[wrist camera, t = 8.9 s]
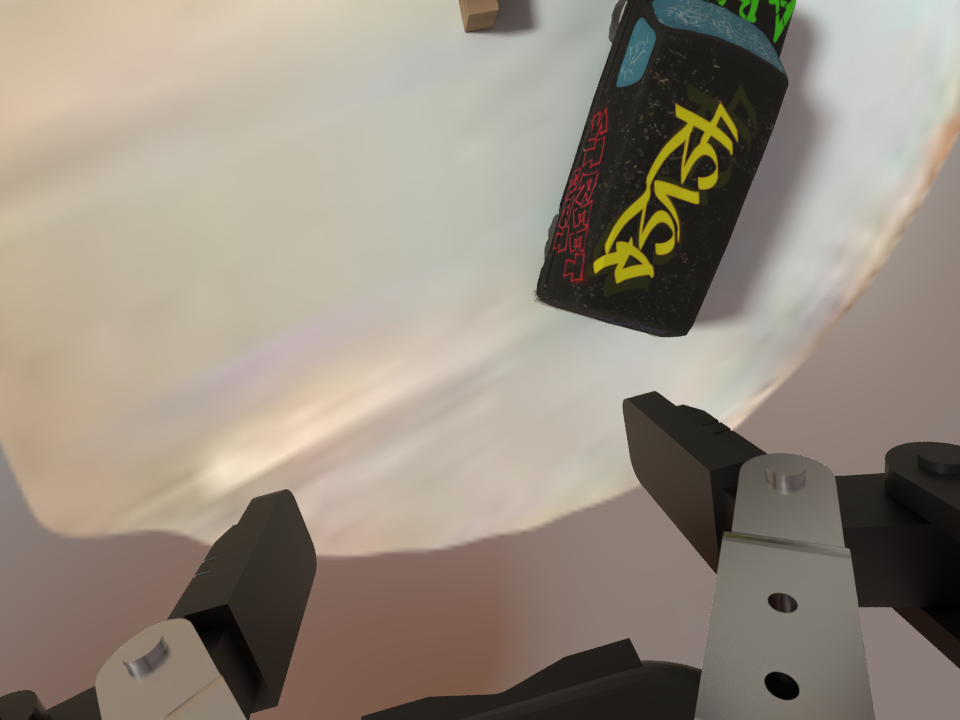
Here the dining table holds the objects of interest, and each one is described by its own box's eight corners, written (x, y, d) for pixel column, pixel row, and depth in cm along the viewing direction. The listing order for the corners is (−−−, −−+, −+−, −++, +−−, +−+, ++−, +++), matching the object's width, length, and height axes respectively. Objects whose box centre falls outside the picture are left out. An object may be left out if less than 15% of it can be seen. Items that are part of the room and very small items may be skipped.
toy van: (752, 17, 37) (867, -55, 28) (637, 329, 43) (700, 359, 33) (625, -38, 35) (701, -135, 26) (522, 297, 41) (553, 319, 31)
